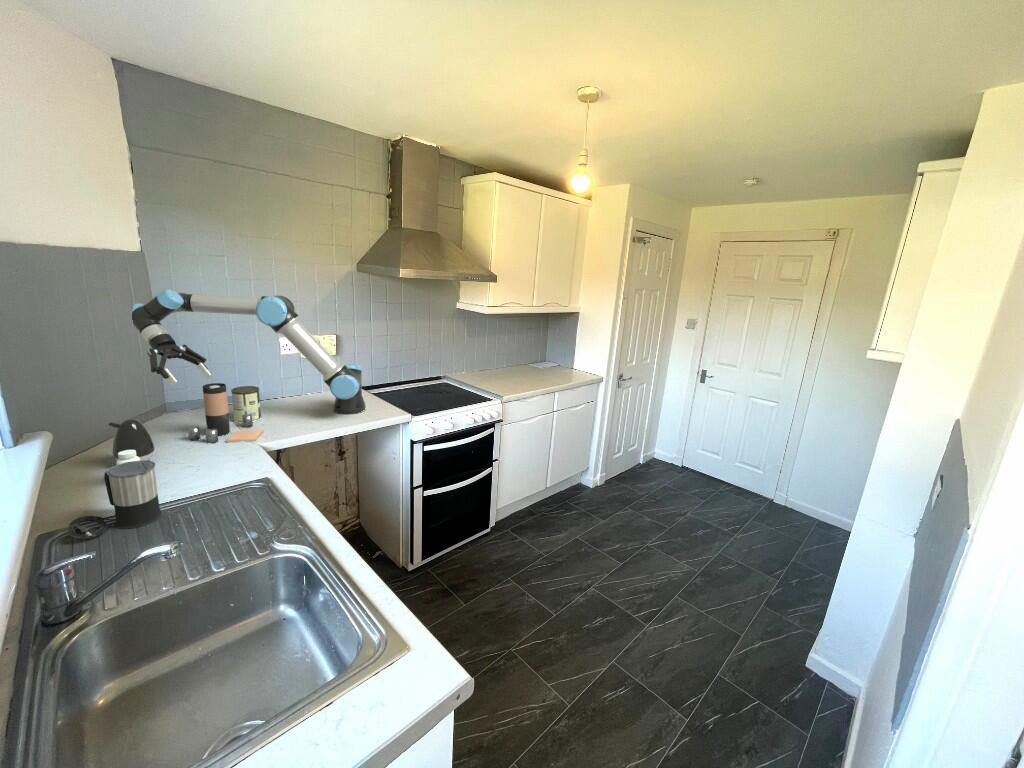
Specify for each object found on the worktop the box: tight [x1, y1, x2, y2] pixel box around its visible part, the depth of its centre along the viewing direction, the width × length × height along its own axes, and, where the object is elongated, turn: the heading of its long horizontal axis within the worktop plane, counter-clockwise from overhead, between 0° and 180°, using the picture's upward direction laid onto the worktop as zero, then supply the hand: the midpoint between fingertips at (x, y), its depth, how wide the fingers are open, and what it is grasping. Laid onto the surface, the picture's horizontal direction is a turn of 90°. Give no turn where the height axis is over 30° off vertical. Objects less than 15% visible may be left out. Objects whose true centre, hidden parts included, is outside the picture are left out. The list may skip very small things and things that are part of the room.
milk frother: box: [66, 460, 163, 541], centre depth 103 cm, size 14×16×15 cm
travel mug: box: [202, 382, 231, 437], centre depth 163 cm, size 8×8×20 cm
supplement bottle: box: [115, 450, 140, 466], centre depth 124 cm, size 5×5×10 cm
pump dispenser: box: [108, 418, 155, 461], centre depth 135 cm, size 10×10×15 cm
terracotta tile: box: [225, 429, 265, 443], centre depth 164 cm, size 10×10×1 cm
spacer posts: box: [187, 414, 254, 444], centre depth 164 cm, size 17×20×5 cm
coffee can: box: [230, 385, 262, 424], centre depth 181 cm, size 10×10×14 cm
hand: (192, 380), depth 163 cm, fingers open, 13 cm apart
